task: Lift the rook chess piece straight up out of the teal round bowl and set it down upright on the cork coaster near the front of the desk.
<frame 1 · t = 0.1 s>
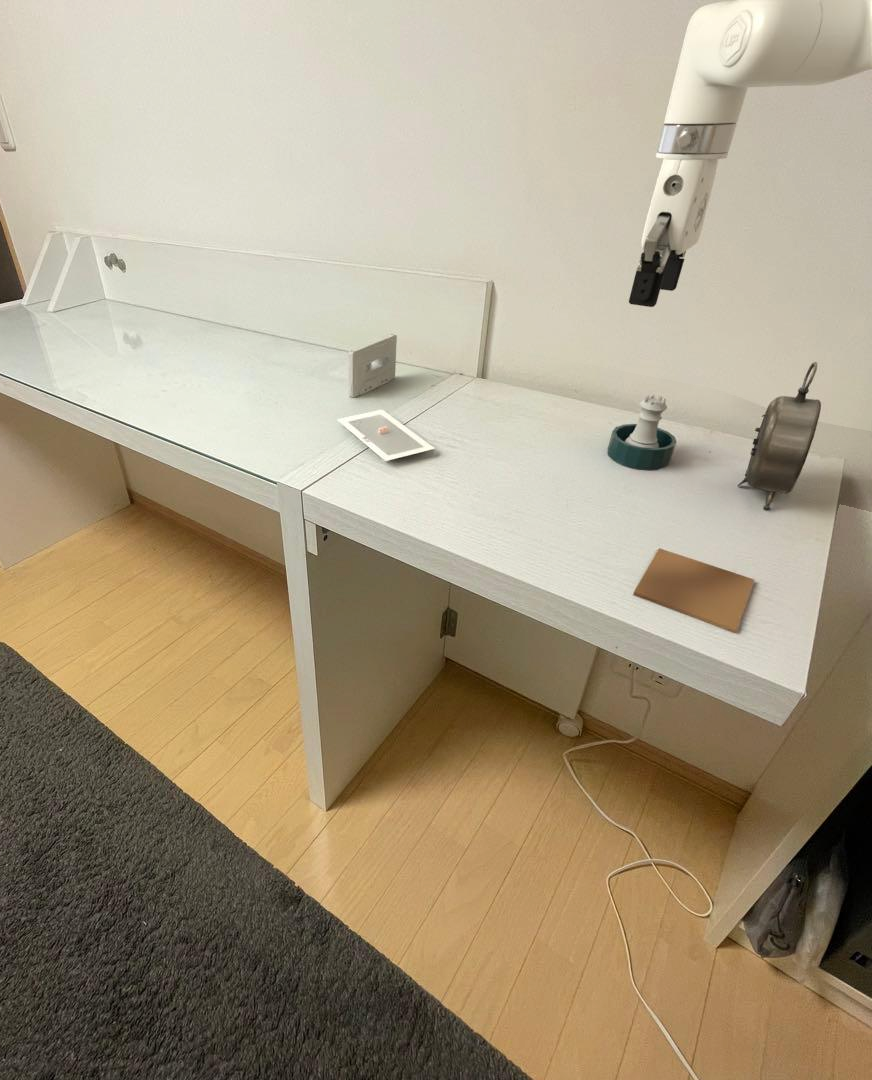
hand: (652, 296, 81), 18 cm above the table, tool pointing down, fingers open, 9 cm apart
rook chess piece: (638, 455, 83), resting on teal round bowl
coaster: (693, 588, 61), on the table
teal round bowl: (637, 456, 83), on the table, touching rook chess piece
cassette: (372, 388, 106), on the table
touchpad: (383, 441, 89), on the table
alarm clock: (757, 493, 75), on the table
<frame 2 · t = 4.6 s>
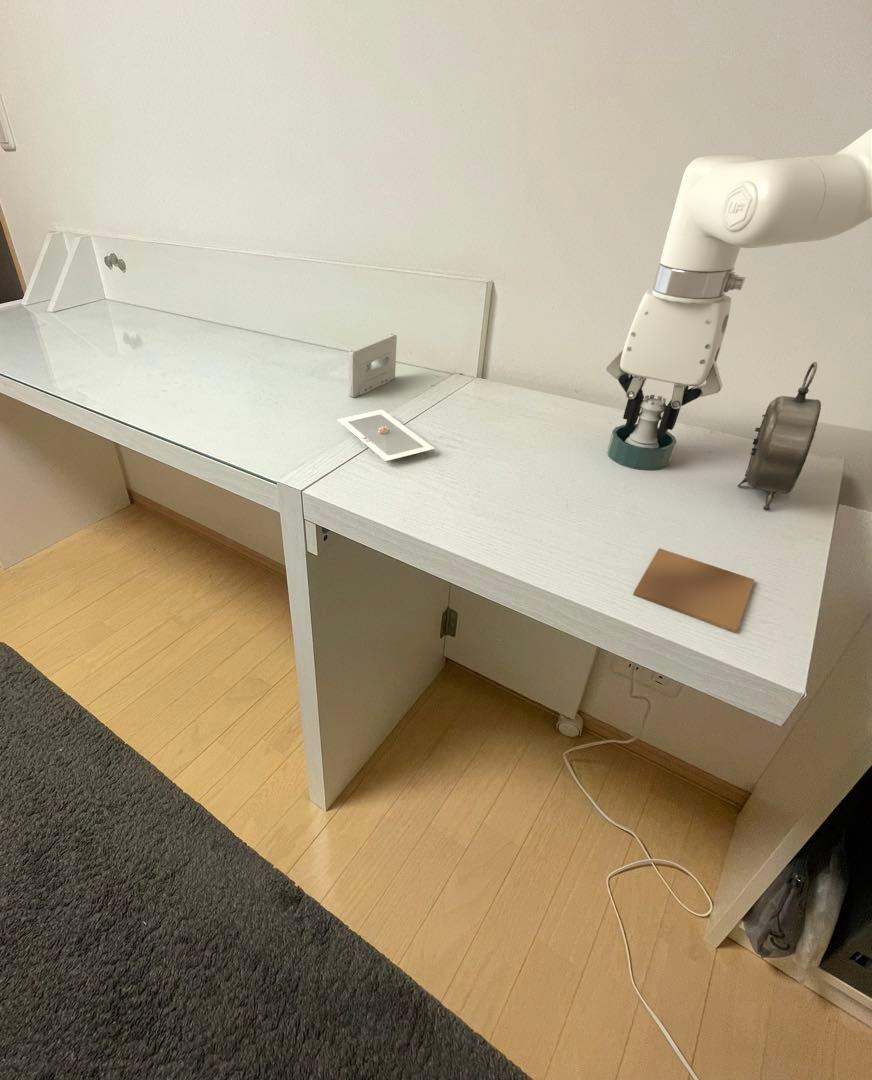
hand: (646, 427, 81), 4 cm above the table, tool pointing down, fingers closed on rook chess piece, 3 cm apart
rook chess piece: (638, 455, 83), resting on teal round bowl, touching gripper
everything else where it was.
when the fingers open (4 cm above the table, at t = 13.2 s): rook chess piece stays where it is, resting on coaster.
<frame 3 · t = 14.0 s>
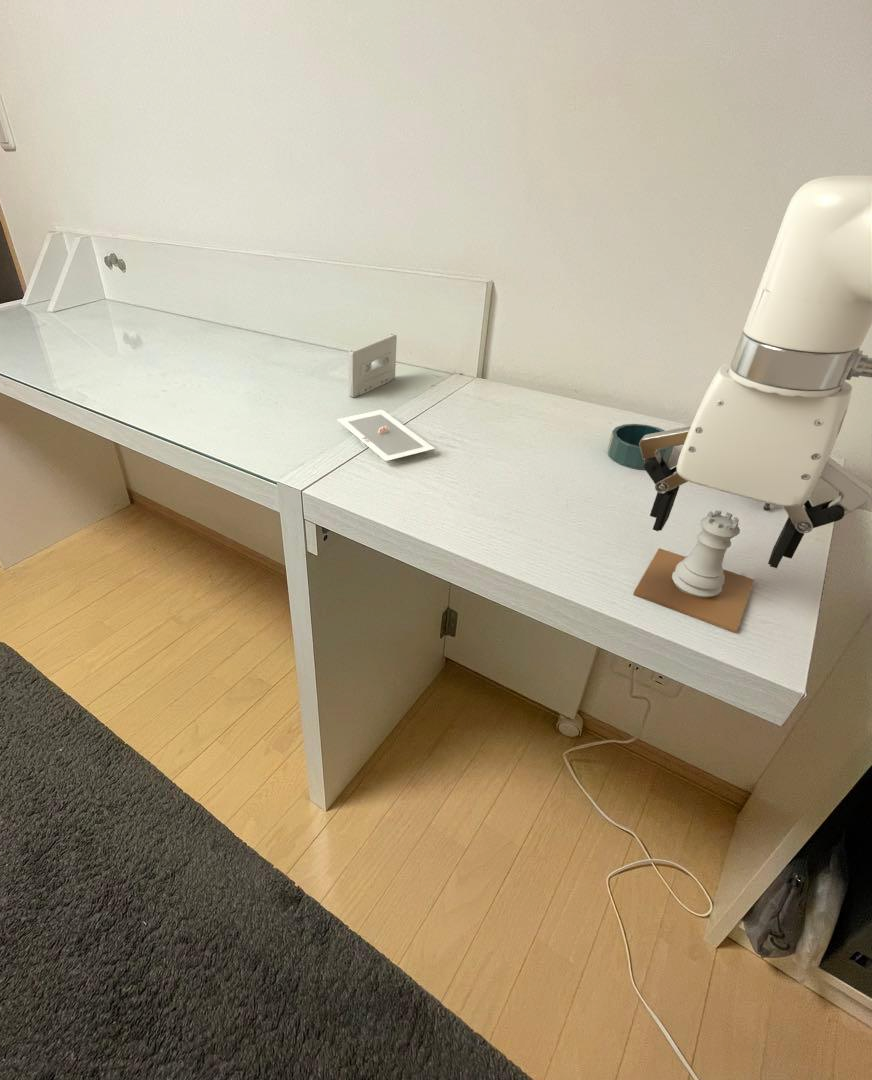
hand: (714, 541, 57), 6 cm above the table, tool pointing down, fingers open, 9 cm apart
rook chess piece: (694, 587, 60), resting on coaster
teal round bowl: (637, 456, 83), on the table
everything else where it was.
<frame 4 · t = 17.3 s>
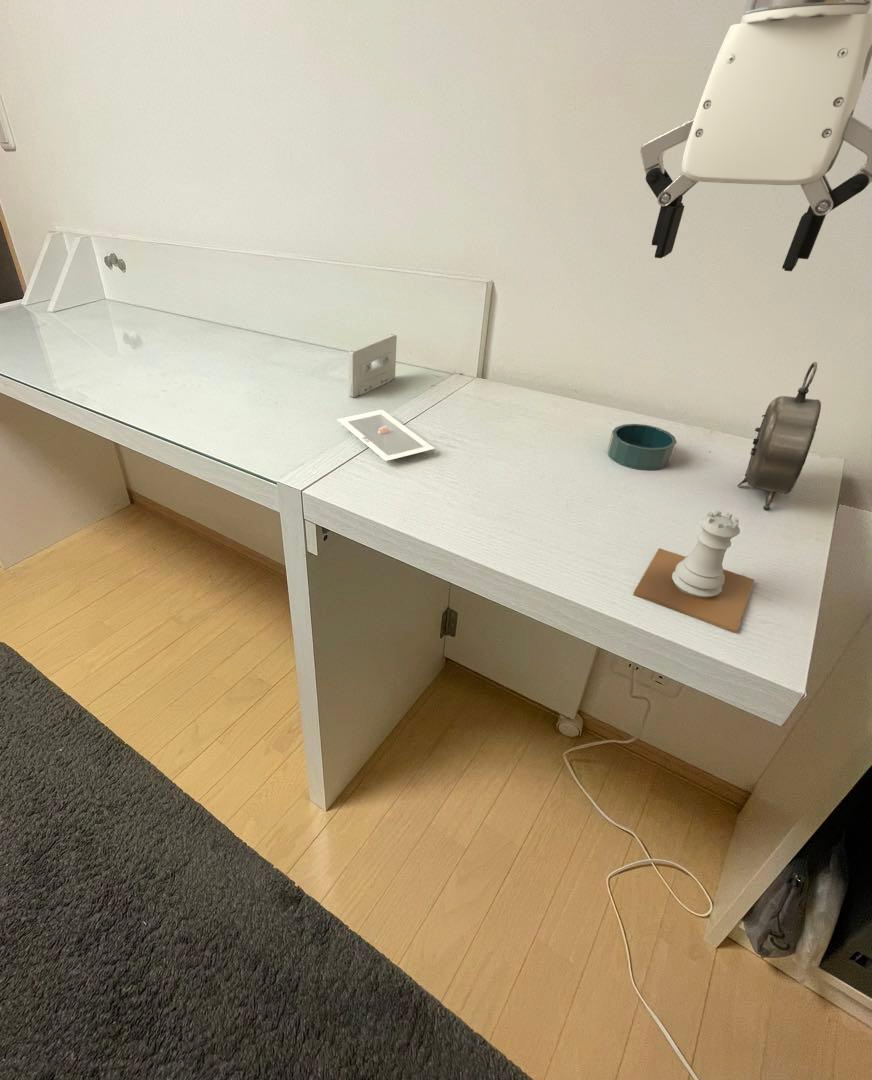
hand: (722, 261, 52), 28 cm above the table, tool pointing down, fingers open, 9 cm apart
nothing on the table moved.
at the end: rook chess piece 0.0 cm off-centre on the coaster, point 0.2 cm above the coaster's base; rook chess piece tilted 0°; rook chess piece touching coaster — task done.
